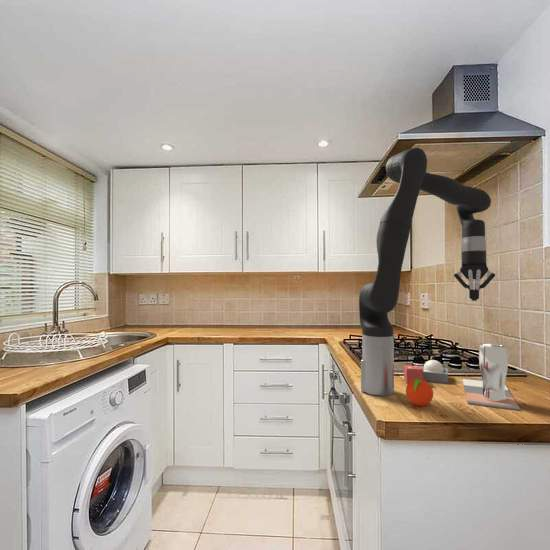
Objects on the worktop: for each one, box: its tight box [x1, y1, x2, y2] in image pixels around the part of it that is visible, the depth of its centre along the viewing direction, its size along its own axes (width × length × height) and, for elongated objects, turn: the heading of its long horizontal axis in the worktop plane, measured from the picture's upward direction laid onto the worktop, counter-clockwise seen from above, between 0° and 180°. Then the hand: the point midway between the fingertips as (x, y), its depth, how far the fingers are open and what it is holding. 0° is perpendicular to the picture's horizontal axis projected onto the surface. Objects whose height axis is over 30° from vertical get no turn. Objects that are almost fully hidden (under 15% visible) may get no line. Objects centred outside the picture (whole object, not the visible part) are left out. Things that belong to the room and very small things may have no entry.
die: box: [403, 364, 423, 385], centre depth 117 cm, size 5×5×5 cm
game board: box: [462, 377, 521, 411], centre depth 106 cm, size 12×28×1 cm, turn 155°
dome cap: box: [423, 359, 444, 373], centre depth 122 cm, size 6×6×6 cm
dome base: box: [419, 365, 449, 384], centre depth 122 cm, size 9×9×3 cm
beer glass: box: [478, 342, 509, 402], centre depth 100 cm, size 7×7×15 cm
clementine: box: [405, 379, 434, 407], centre depth 95 cm, size 8×7×7 cm
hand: (474, 300), depth 121 cm, fingers closed
